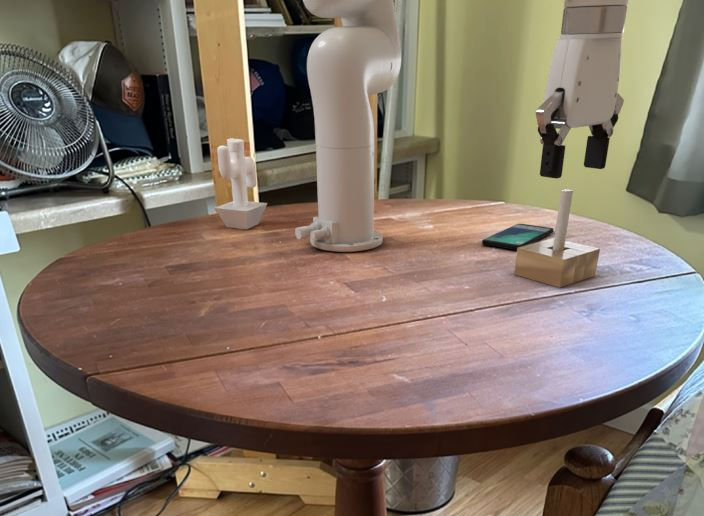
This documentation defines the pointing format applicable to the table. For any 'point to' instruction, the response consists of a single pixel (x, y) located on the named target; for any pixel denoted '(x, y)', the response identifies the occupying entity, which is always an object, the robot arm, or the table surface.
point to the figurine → (238, 186)
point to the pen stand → (556, 262)
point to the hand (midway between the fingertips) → (572, 172)
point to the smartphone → (517, 236)
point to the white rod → (562, 219)
